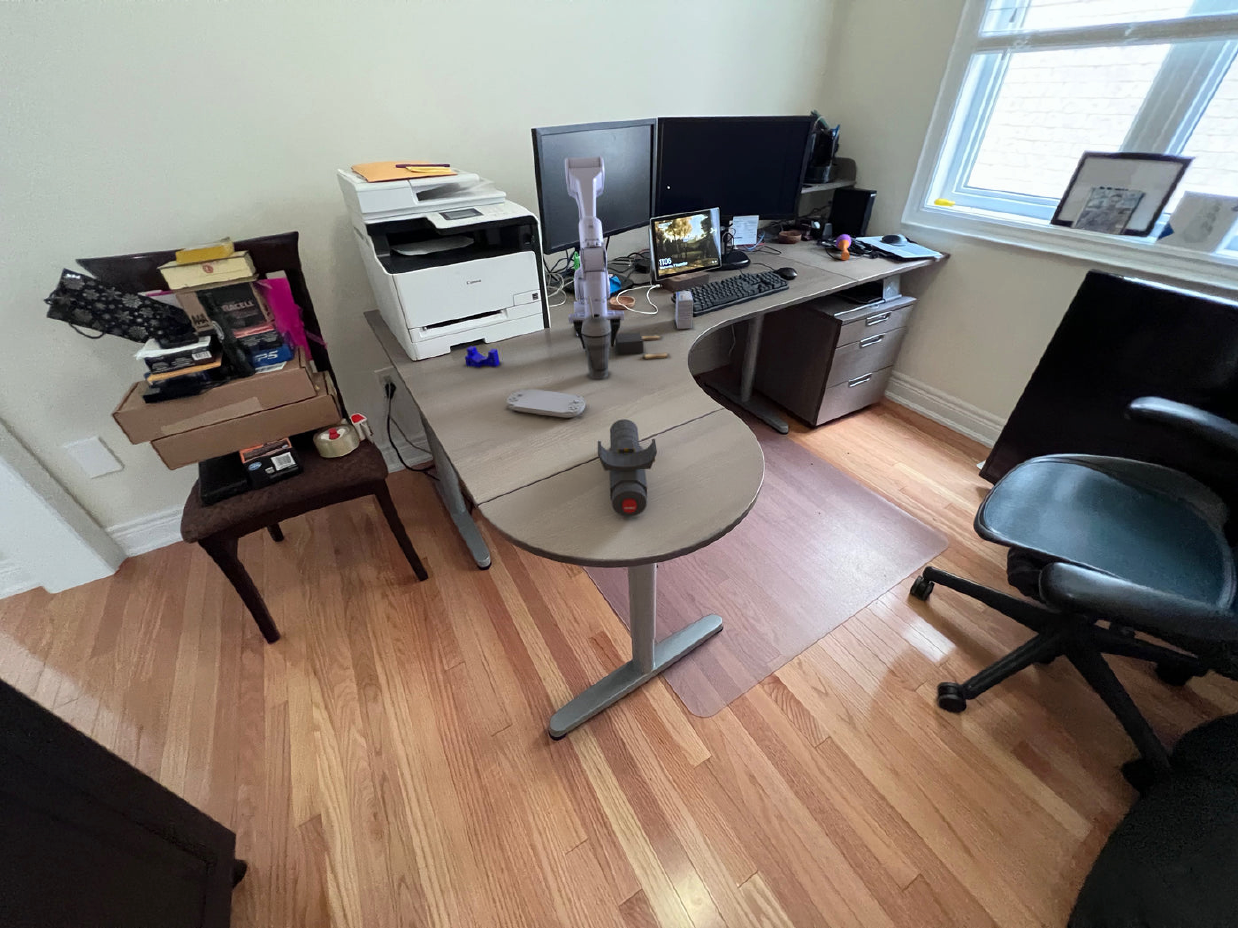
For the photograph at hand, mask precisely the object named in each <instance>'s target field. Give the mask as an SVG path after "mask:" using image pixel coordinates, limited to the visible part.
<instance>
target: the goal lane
mask: <svg viewBox="0 0 1238 928" xmlns="http://www.w3.org/2000/svg"><path fill="white" fill-rule="evenodd" d="M641 336H642V335H641ZM642 339H643V341H654V340H660V339H661V338H660V335H659V334H655V335H643V336H642ZM643 356H644V359H645V360H649V359H661V358H662V359H664V358H668V353H667V352H663V353H662V352H660V353H647V354H644V355H643Z"/></svg>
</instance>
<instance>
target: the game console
mask: <svg viewBox="0 0 1238 928" xmlns="http://www.w3.org/2000/svg"><path fill="white" fill-rule="evenodd" d="M506 404H507V407H508V408H509V409H510V410H512V411H515V412H520V413H527V414H533V415H534V414H536V415H539V416H549V417H556V418H564V419H565V418H566V419H567V418H575V417H577V416H579V415H580V414H582V412H583V411H584V409H585V407H586V399H585V398H584V397H583V396H582V395H579V394H575V393H567V392H560V391H551V390H544V389H537V388H520V389H518V390H515V391H512V392H511V393H510V395H508V397H507V398H506Z"/></svg>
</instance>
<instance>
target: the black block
mask: <svg viewBox="0 0 1238 928" xmlns="http://www.w3.org/2000/svg"><path fill="white" fill-rule="evenodd" d="M614 347H615V350H616V353H617V355H631V354H632V355H633V354H643V353H644V340H643V339H642V333H641V331H638V332H624V333H623V332H622V333H617V334H616V337H615V341H614Z"/></svg>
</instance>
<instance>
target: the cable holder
mask: <svg viewBox="0 0 1238 928" xmlns="http://www.w3.org/2000/svg"><path fill="white" fill-rule="evenodd" d="M466 352H467V355H465V356H464V360H465V364H466V366H467V367H475V368H481V367H482V366H487V367H495V368H496V367H498V366H499V365H500V363H501V362H500V357H499V352H498V349H495V348H491V349H490V350H489V351H488V352H487V353H488V355H487V356H485V355H482V354H481V353H480V352H479V351H478V349H477V346H473V345H470V346H469V347H467V348H466Z"/></svg>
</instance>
